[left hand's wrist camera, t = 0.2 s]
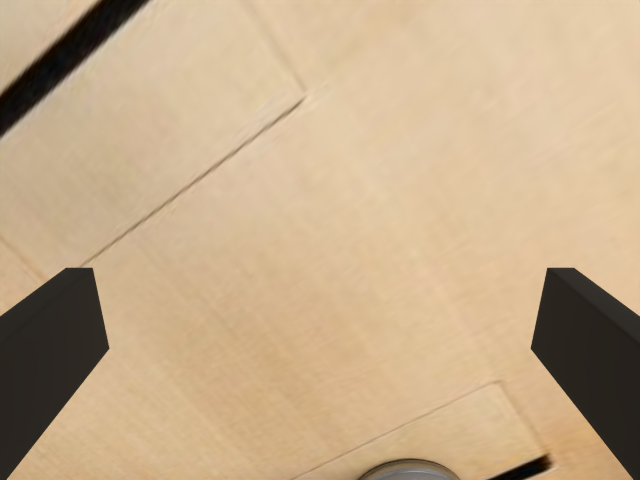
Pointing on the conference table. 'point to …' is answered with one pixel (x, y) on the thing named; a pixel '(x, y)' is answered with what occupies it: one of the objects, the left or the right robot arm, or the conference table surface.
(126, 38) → the conference table surface
